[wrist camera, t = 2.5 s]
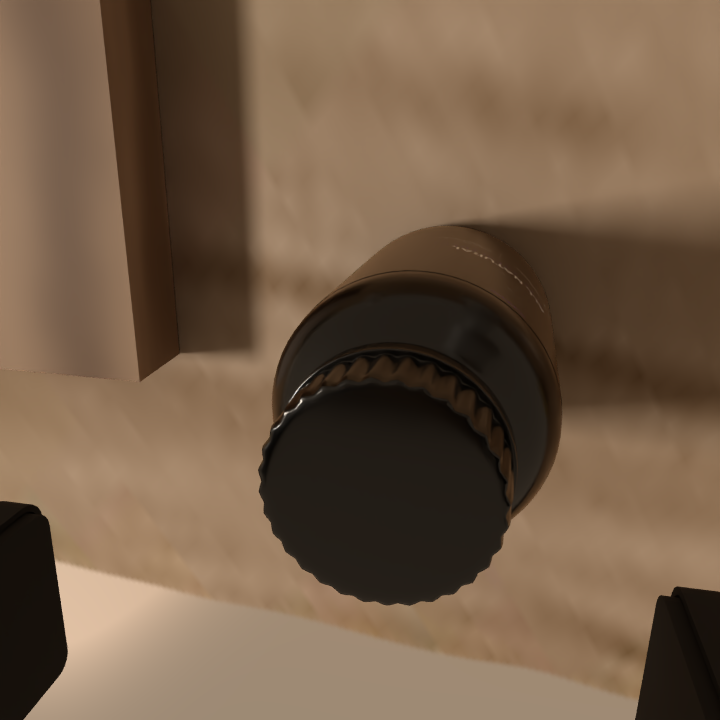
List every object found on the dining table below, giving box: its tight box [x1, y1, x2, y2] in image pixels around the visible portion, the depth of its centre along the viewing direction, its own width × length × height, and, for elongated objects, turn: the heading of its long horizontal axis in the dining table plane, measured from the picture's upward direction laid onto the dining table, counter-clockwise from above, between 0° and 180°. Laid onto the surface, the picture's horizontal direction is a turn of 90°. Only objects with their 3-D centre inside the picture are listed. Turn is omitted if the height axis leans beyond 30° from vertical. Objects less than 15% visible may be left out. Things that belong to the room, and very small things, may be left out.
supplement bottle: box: [258, 226, 562, 605], centre depth 18 cm, size 7×7×12 cm
